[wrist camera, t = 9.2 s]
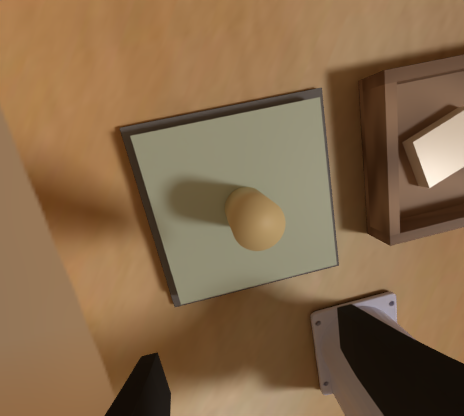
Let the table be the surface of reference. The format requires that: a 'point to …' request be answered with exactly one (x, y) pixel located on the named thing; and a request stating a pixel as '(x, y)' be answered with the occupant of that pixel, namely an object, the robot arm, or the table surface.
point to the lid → (240, 198)
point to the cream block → (437, 149)
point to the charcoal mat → (200, 117)
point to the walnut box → (394, 155)
